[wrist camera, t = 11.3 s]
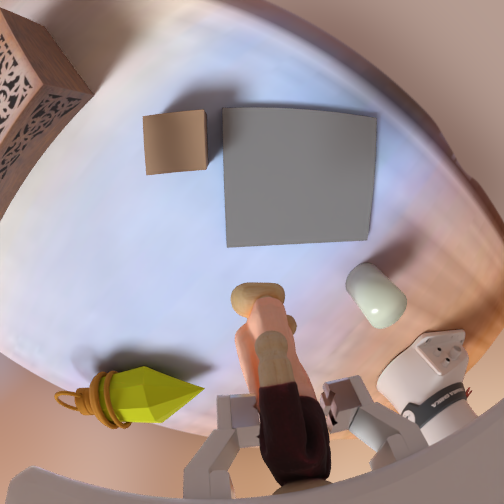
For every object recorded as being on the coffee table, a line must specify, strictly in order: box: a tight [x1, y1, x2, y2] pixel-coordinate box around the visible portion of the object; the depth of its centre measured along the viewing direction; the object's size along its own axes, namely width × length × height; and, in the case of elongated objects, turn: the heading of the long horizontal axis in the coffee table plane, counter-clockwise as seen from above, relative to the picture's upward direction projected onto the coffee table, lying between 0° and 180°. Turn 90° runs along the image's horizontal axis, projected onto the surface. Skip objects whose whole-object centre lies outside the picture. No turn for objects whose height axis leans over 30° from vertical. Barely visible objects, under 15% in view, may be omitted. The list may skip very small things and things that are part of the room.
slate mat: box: [222, 107, 377, 248], centre depth 27 cm, size 16×14×1 cm
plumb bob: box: [55, 366, 205, 429], centre depth 32 cm, size 9×9×25 cm
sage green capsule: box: [346, 263, 407, 329], centre depth 30 cm, size 5×5×7 cm
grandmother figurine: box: [231, 283, 332, 495], centre depth 9 cm, size 8×4×13 cm, turn 29°
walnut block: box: [143, 109, 208, 175], centre depth 22 cm, size 5×5×5 cm
